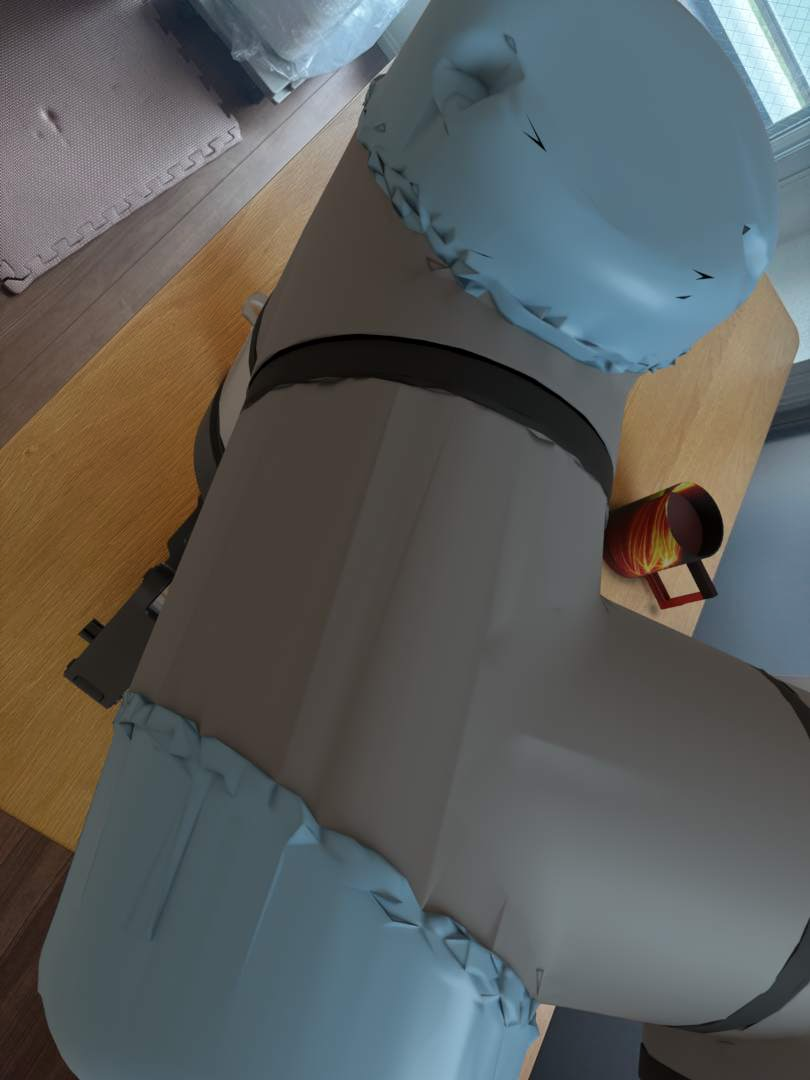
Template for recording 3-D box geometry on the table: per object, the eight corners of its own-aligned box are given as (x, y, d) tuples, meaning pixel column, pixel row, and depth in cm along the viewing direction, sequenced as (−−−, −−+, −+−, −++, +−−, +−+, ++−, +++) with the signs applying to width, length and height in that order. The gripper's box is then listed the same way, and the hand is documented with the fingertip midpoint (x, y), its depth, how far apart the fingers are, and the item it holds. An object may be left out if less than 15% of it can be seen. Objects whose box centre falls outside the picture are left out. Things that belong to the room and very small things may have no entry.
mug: (656, 613, 98) (730, 597, 87) (586, 545, 95) (654, 520, 85) (681, 561, 102) (754, 540, 92) (615, 495, 100) (682, 466, 89)
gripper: (431, 175, 30) (280, 387, 48) (-72, 649, 18) (-19, 691, 37) (556, 307, 31) (363, 464, 50) (161, 822, 20) (100, 779, 38)
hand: (200, 561), depth 43 cm, fingers open, 13 cm apart
